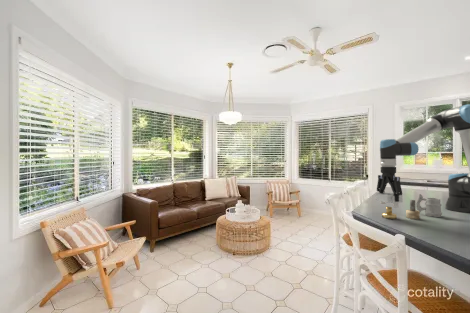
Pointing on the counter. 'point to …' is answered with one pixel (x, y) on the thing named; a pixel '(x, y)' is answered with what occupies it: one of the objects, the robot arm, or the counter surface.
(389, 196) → the grey square block
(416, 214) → the stand
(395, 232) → the counter surface
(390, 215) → the hub
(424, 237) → the counter surface
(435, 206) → the mug
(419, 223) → the counter surface
